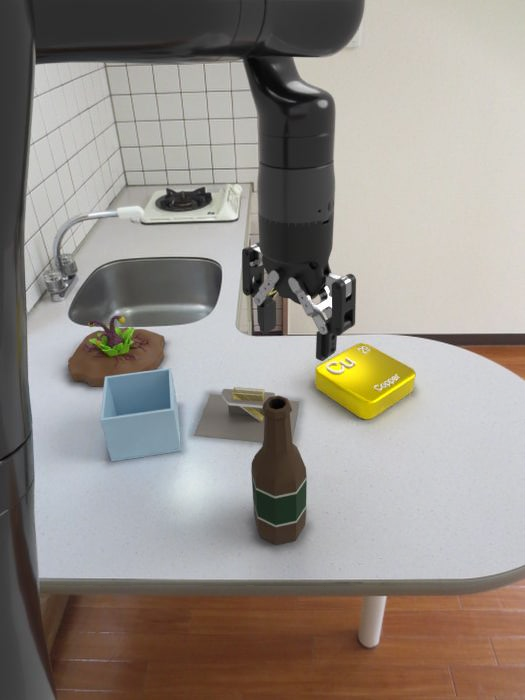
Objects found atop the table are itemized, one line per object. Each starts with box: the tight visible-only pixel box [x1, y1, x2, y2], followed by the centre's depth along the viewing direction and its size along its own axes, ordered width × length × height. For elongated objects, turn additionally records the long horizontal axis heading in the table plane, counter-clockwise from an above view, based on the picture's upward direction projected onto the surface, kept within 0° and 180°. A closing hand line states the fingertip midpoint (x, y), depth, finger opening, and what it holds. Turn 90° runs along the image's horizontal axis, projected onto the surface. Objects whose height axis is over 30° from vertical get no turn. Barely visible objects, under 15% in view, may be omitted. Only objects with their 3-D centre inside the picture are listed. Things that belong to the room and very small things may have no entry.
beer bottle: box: [250, 395, 308, 546], centre depth 72 cm, size 8×8×24 cm
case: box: [99, 367, 182, 462], centre depth 94 cm, size 12×12×10 cm
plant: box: [67, 315, 166, 387], centre depth 113 cm, size 20×20×11 cm
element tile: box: [314, 342, 417, 420], centre depth 104 cm, size 15×15×5 cm
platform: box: [193, 386, 300, 443], centre depth 97 cm, size 12×18×7 cm, turn 80°
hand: (295, 343), depth 61 cm, fingers open, 8 cm apart
